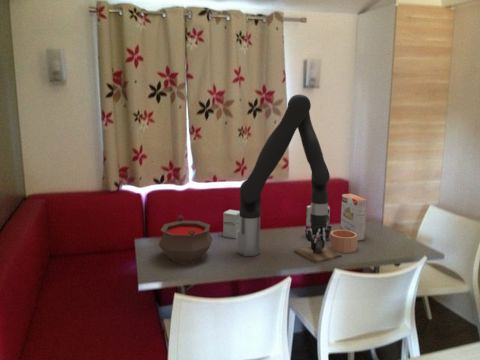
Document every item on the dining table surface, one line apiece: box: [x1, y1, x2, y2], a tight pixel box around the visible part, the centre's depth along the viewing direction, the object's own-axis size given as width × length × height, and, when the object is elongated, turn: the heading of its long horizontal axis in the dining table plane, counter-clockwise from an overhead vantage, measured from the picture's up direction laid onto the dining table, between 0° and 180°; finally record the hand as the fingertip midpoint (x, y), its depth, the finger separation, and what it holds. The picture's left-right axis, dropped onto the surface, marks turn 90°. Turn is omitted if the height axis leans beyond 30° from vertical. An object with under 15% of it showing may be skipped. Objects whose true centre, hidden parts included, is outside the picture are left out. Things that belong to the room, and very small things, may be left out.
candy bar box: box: [305, 204, 331, 241], centre depth 207 cm, size 11×5×16 cm, turn 73°
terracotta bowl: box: [329, 229, 358, 254], centre depth 195 cm, size 12×12×7 cm
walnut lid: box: [293, 239, 342, 264], centre depth 187 cm, size 15×15×6 cm
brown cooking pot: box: [158, 215, 213, 264], centre depth 181 cm, size 24×24×16 cm
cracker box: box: [339, 193, 368, 242], centre depth 210 cm, size 14×6×21 cm, turn 17°
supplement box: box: [222, 209, 240, 239], centre depth 210 cm, size 7×7×13 cm
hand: (317, 249), depth 187 cm, fingers closed on walnut lid, 4 cm apart
